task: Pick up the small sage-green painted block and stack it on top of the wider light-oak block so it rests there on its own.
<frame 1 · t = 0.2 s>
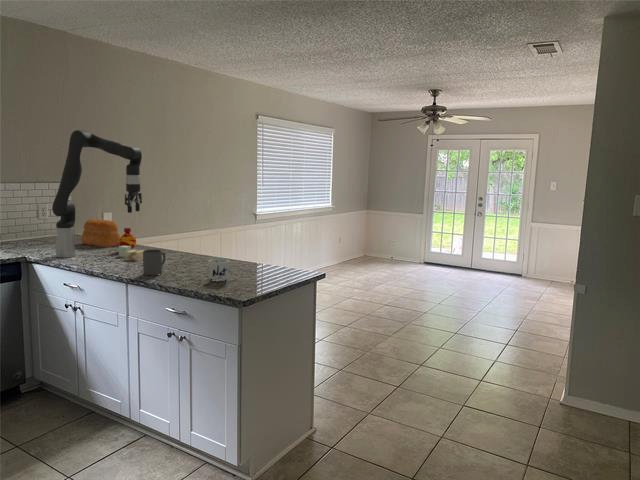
hand: (133, 211, 278), 28 cm above the countertop, fingers open, 8 cm apart
bread: (101, 245, 334), on the countertop
potion bottle: (128, 251, 312), on the countertop
mug: (156, 273, 254), on the countertop
sage block: (125, 256, 297), on the countertop
mug 2: (217, 279, 245), on the countertop
oak block: (136, 259, 289), on the countertop
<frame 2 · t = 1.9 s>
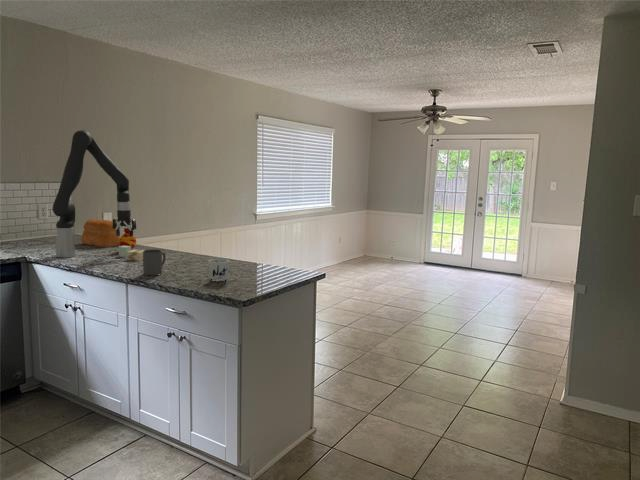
hand: (124, 236, 295), 12 cm above the countertop, fingers open, 8 cm apart
nothing on the countertop moved.
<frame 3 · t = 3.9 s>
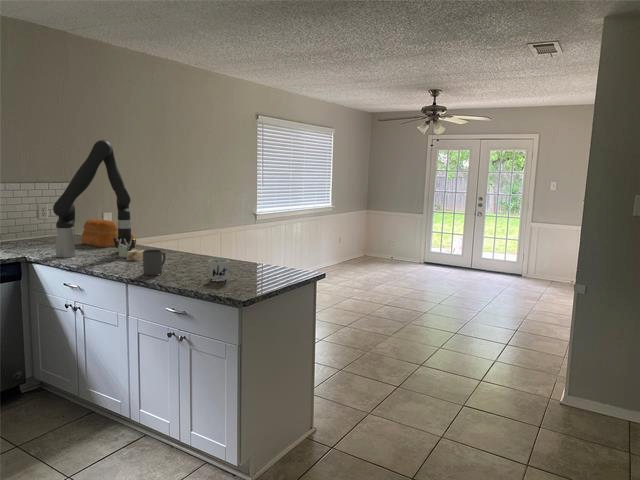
hand: (125, 255, 297), 1 cm above the countertop, fingers closed on sage block, 5 cm apart
sage block: (125, 256, 297), on the countertop, touching gripper
everything else where it was.
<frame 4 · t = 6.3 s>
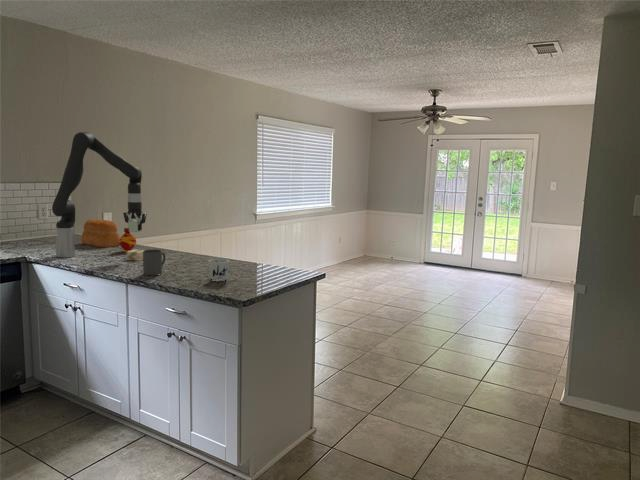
hand: (135, 230, 286), 17 cm above the countertop, fingers closed on sage block, 5 cm apart
sage block: (135, 231, 286), point 16 cm above the countertop, touching gripper
everything else where it was.
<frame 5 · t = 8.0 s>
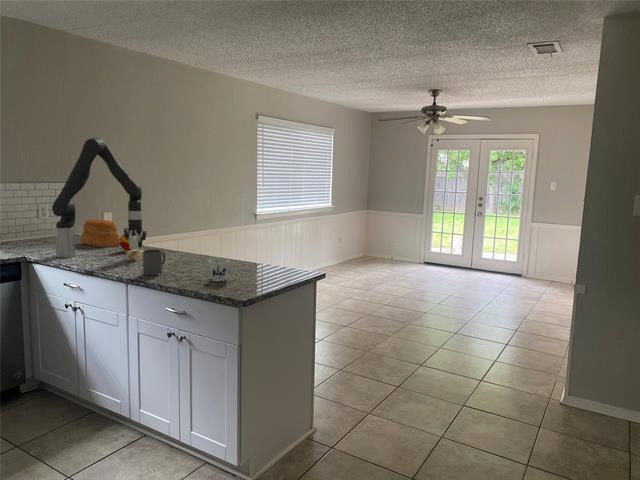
hand: (135, 247, 288), 7 cm above the countertop, fingers closed on sage block, 5 cm apart
sage block: (135, 248, 288), point 6 cm above the countertop, touching gripper
everything else where it was.
when the fingers open (7 cm above the countertop, at t = 9.0 s): sage block drops 1 cm, resting on oak block.
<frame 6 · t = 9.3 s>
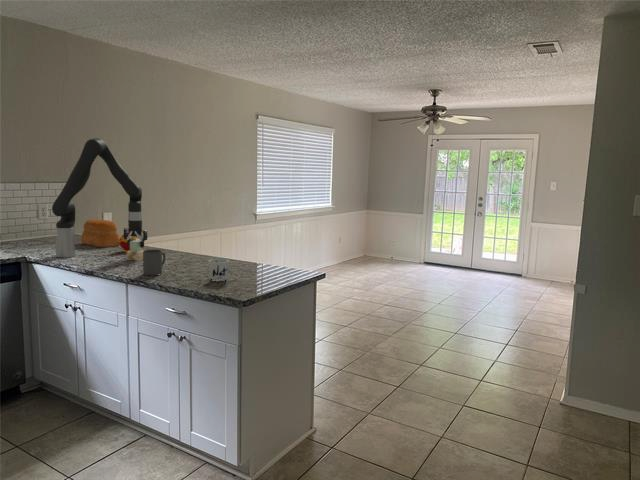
hand: (135, 247, 288), 7 cm above the countertop, fingers open, 7 cm apart
sage block: (136, 251, 288), point 5 cm above the countertop, touching oak block
oak block: (137, 259, 289), on the countertop, touching sage block
everything else where it was.
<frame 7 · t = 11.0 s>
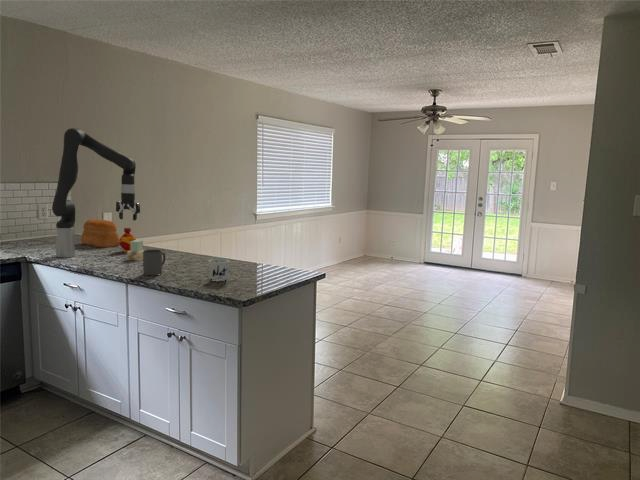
hand: (128, 219, 288), 23 cm above the countertop, fingers open, 8 cm apart
sage block: (136, 251, 288), point 5 cm above the countertop
oak block: (137, 259, 289), on the countertop
everything else where it was.
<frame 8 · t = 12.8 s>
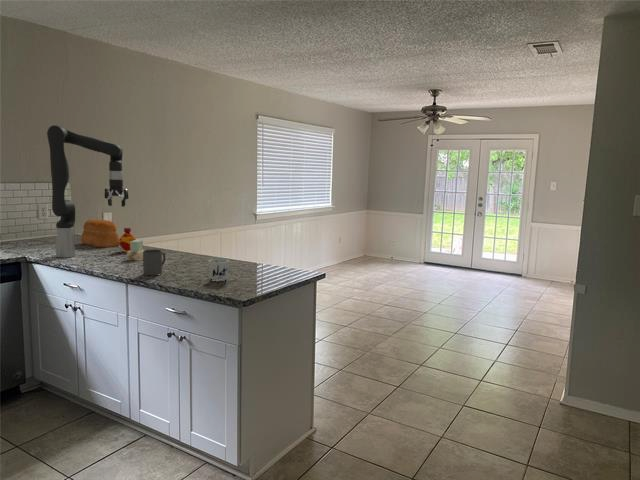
hand: (116, 206, 292), 30 cm above the countertop, fingers open, 8 cm apart
sage block: (136, 251, 288), point 5 cm above the countertop, touching oak block
oak block: (137, 259, 289), on the countertop, touching sage block
everything else where it was.
at the end: sage block 0.5 cm off-centre on the oak block, point 5.0 cm above the oak block's base; sage block tilted 0°; the gripper is holding nothing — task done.
